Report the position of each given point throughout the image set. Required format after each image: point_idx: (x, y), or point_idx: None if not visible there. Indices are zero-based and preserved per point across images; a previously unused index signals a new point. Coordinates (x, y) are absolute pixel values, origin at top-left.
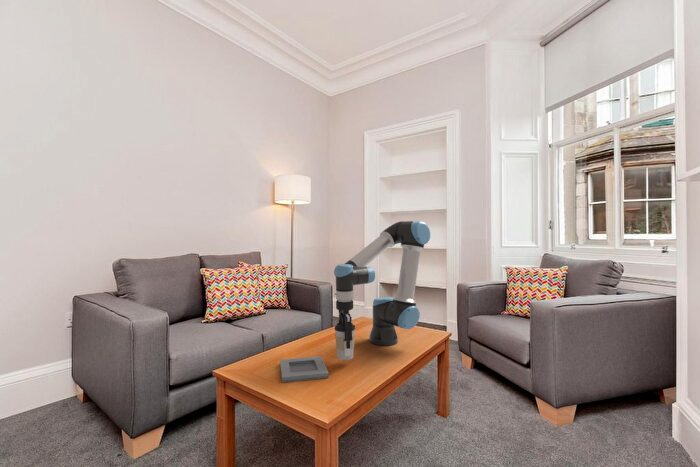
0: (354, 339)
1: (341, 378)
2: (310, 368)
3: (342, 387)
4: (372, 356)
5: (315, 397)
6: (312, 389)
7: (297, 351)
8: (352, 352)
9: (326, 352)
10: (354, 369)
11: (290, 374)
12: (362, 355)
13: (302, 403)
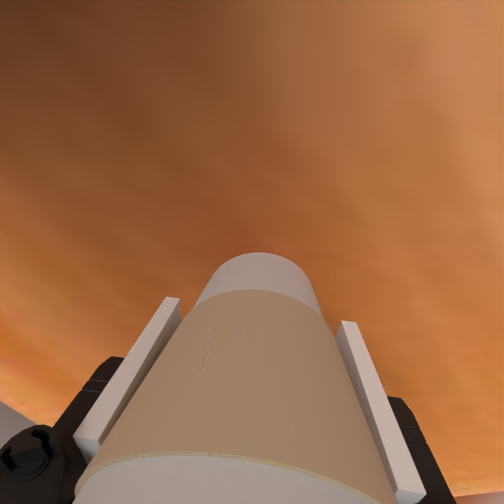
0: (314, 379)
1: (412, 343)
2: None
3: (498, 368)
4: (172, 9)
5: (491, 449)
6: (429, 440)
7: (66, 389)
8: (311, 297)
9: (77, 300)
10: (349, 252)
11: None
12: (139, 102)
13: (496, 477)
